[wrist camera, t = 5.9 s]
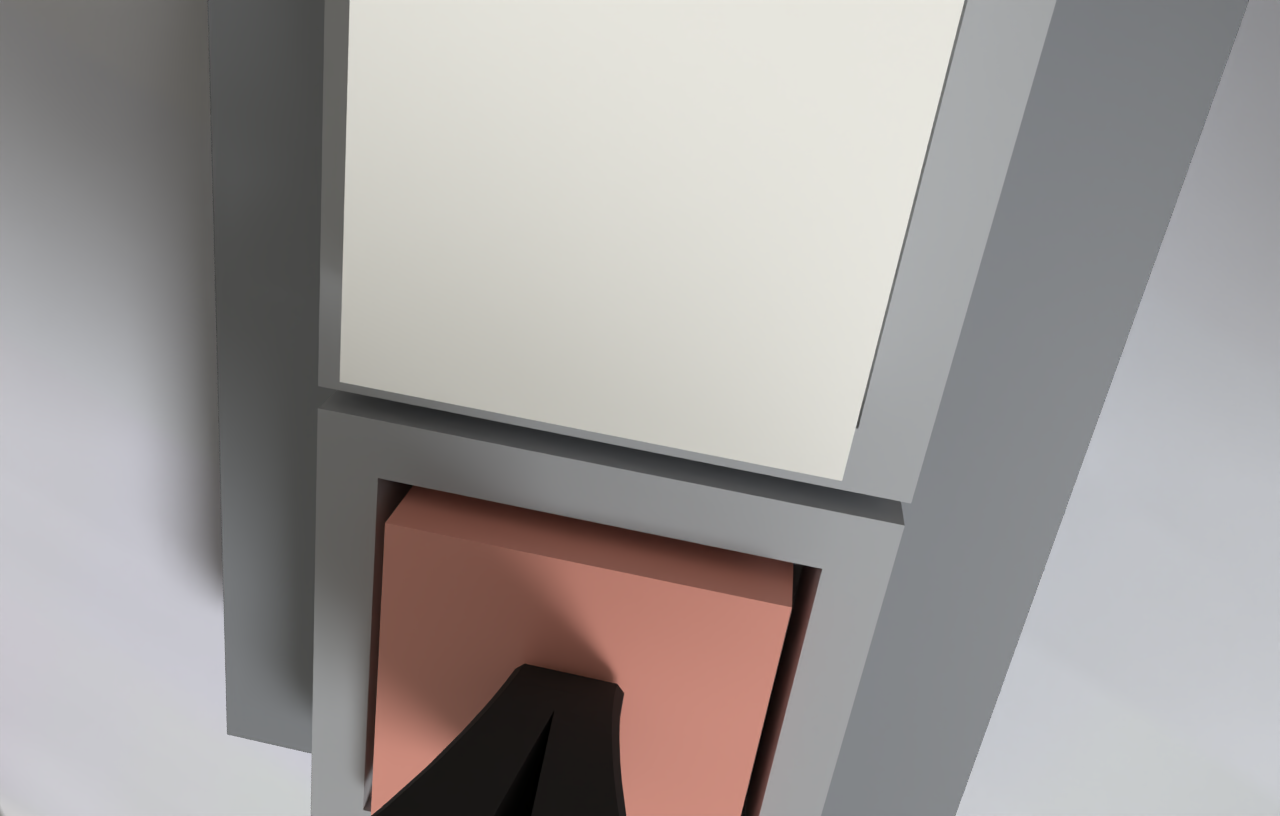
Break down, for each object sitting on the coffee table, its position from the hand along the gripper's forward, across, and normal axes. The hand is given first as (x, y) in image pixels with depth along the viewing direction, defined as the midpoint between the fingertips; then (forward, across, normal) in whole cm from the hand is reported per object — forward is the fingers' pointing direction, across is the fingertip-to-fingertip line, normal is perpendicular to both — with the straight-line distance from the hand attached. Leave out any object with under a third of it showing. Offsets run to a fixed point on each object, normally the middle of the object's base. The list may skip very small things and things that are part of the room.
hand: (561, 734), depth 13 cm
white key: (+1, 0, -8) cm, 8 cm away
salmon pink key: (+3, 0, 0) cm, 3 cm away
